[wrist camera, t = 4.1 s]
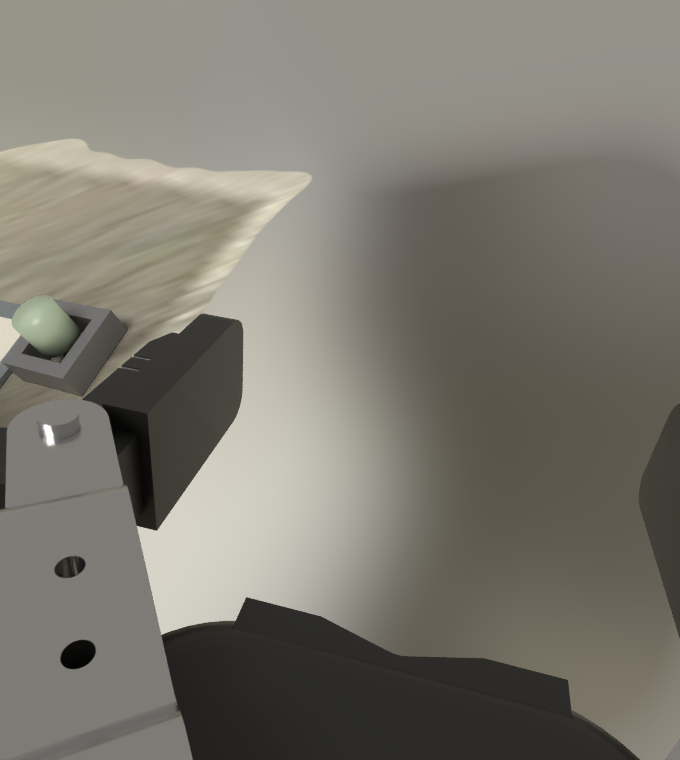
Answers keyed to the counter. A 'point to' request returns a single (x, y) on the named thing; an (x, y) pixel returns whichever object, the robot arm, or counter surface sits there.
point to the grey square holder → (71, 351)
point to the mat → (7, 336)
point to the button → (45, 326)
